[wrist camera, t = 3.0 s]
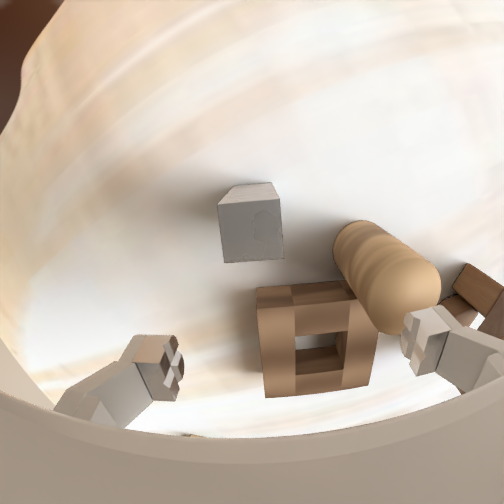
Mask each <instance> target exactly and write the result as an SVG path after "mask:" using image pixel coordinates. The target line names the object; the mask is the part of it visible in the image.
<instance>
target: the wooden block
mask: <svg viewBox="0 0 504 504" xmlns="http://www.w3.org/2000/svg"><path fill="white" fill-rule="evenodd" d="M452 287H453V289H454V290H455V291H456V292H457V293H458V294H459V295H455V296H452V297H450V298H447V299H445V300H443V301H442V302H441V303H440V304H439V305H442V306H444V307H445V308H446V309H447V310H448V311H449V313H450V314H451V315H452V316H453V317H454V318H455V319H456V320H457V321H458V322H459V323H460V324H461V325H462V326H463V327H465V326H467V327H469V326H470V324H471V323H472V322H473V320H474V319H475V318H476V316H477V315H478V312H479V313H480V314H481V315H483V316H484V317H485V320H484V321H483V322H482V324H481V325H480V326H479V328H478V329H477V331H480V332H483V333H485V334H488V335H491V336H493V337H496V338H498V339H501V340H504V287H503V286H502V285H500V284H499V283H498V282H496V281H495V280H493V279H492V278H490V277H489V276H487V275H486V274H485V273H483V272H482V271H480V270H479V269H477V268H476V267H474V266H472V265H471V264H468V263H467V264H466V266H465V267H464V269H463V270H462V272H461V273H460V275H459V276H458V278H457V280H456V281H455V282H454V284H453V286H452ZM457 389H458V390H459V391H460V393H461V395H462V394H465V392H464V391H462V390H461V389H459V388H458V387H457Z"/></svg>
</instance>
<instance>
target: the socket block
mask: <svg viewBox="0 0 504 504" xmlns="http://www.w3.org/2000/svg"><path fill="white" fill-rule="evenodd" d="M256 310H257V320H258V330H259V340H260V350H261V360H262V370H263V380H264V390H265V398H276V397H288V396H299V395H309V394H317V393H325V392H332V391H339V390H345V389H351V388H357V387H362V386H368V384H369V379H370V375H371V370H372V365H373V360H374V355H375V350H376V344H377V339H378V333H379V330H378V329H376V327H375V326H374V325H373V323H372V322H371V320H370V318H369V317H368V315H367V313H366V312H365V310H364V308H363V307H362V305H361V303H360V302H359V300H358V298H357V297H356V295H355V294H354V292H353V290H352V289H351V287H350V286H349V284H348V282H347V281H346V280H340V281H330V282H320V283H309V284H297V285H286V286H273V287H260V288H257V304H256ZM332 332H336V344H335V346H330V347H322V348H313V349H303V350H295V336H305V335H315V334H324V333H332Z"/></svg>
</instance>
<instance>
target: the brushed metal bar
mask: <svg viewBox="0 0 504 504" xmlns="http://www.w3.org/2000/svg"><path fill="white" fill-rule="evenodd" d="M217 209H218V218H219V226H220V234H221V242H222V249H223V257H224V263H234V262H247V261H260V260H272V259H284V253H283V237H282V222H281V208H280V198H279V196H278V194H277V192H276V190H275V188H274V186H273V184H272V183H259V184H248V185H237V186H233V188H232V189H231V190H230V191H229V192H228V193H227V194H226V195H225V196H224V197H223V198H222V199H221V201H220V202H219V203H218V204H217Z"/></svg>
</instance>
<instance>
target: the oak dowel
mask: <svg viewBox="0 0 504 504" xmlns="http://www.w3.org/2000/svg"><path fill="white" fill-rule="evenodd" d="M333 257H334V261H335V263H336V265H337V267H338V268H339V270H340V271H341V273H342V274H343V276H344V278H345V279H346V281H347V282H348V284H349V286H350V287H351V289H352V290H353V292H354V294H355V295H356V297H357V298H358V300H359V302H360V303H361V305H362V307H363V308H364V310H365V312H366V313H367V315H368V317H369V318H370V320H371V322H372V323H373V325H374V326H375V327H376V329H378V330H379V331H380V332H382V333H385V334H388V335H401V333H402V331H403V330H404V329H405V328H406V326H405V324H404V323H403V322H404V317H405V315H406V313H408V312H413V311H418V310H422V309H427V308H430V307H434V306H436V305H437V303H438V301H439V297H440V293H441V279H440V275H439V273H438V271H437V269H436V268H435V267H434V265H432V264H431V263H430V262H429V261H427V260H426V259H425V258H423V257H422V256H420V255H419V254H418V253H416V252H415V251H414V250H412V249H411V248H409V247H408V246H407V245H405V244H404V243H402V242H401V241H399V240H398V239H397V238H395V237H394V236H392V235H391V234H389V233H388V232H386V231H385V230H383V229H382V228H380V227H379V226H377V225H376V224H374V223H372V222H369V221H356V222H353V223H350V224H348V225H347V226H346V227H344V228H343V229H342V230H341V231H340V232H339V234H338V235H337V237H336V239H335V242H334V245H333Z"/></svg>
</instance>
